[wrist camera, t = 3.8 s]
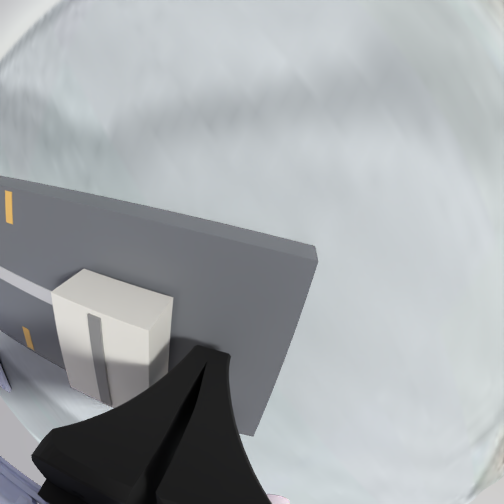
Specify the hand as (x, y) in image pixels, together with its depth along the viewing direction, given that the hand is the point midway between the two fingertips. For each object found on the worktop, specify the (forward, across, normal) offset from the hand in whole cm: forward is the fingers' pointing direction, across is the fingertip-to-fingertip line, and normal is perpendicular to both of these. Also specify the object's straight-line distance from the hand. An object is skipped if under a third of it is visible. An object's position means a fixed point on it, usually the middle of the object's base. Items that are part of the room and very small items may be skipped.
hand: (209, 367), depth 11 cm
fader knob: (0, +4, 0) cm, 4 cm away
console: (+2, +7, 0) cm, 8 cm away
